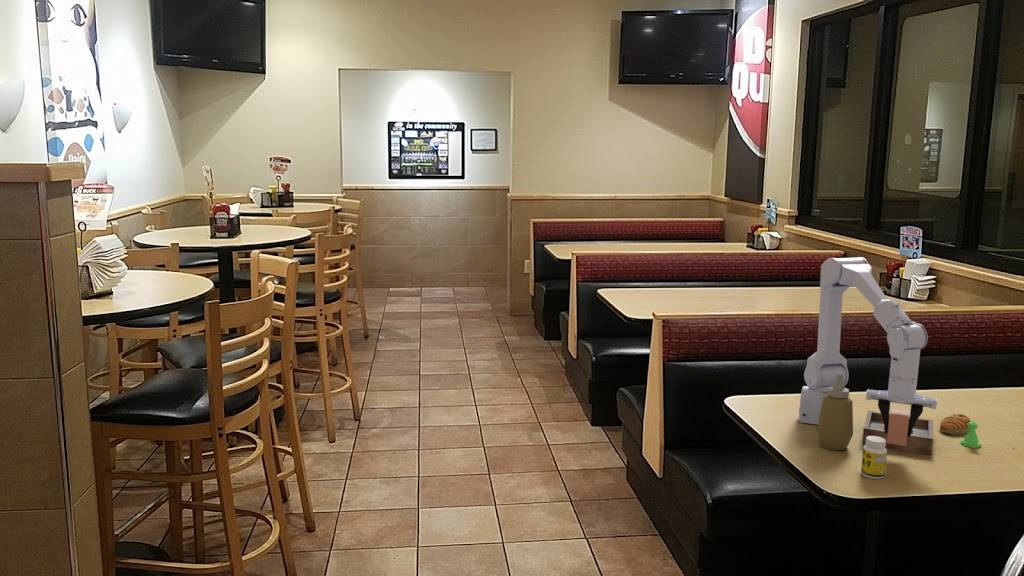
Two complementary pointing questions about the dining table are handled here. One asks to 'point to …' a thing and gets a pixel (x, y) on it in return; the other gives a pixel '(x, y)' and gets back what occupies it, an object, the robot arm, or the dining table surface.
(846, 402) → the squeeze bottle
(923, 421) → the socket box
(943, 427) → the pastry
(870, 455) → the supplement bottle
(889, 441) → the peg
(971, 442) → the game piece
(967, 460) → the dining table surface
